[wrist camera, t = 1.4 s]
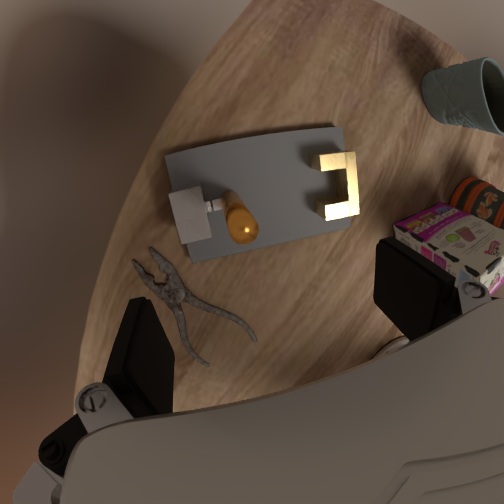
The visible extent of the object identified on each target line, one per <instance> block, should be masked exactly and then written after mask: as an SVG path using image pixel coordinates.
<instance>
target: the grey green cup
mask: <svg viewBox="0 0 504 504" xmlns="http://www.w3.org/2000/svg"><path fill="white" fill-rule="evenodd" d="M422 95H423V99H424V103H425V105H426V107H427V109H428V111H429V113H430V114H431V115H432V117H434V119H436V120H437V121H439V122H441V123H443V124H450V125H457V126H458V125H462V126H463V127H468V128H474V129H477V128H478V129H479V130H483V131H487V132H492V133H495V134H499V135H502V136H504V72H503V70H502V69H501V67H500V66H499V65H498V64H497V62H495V61H494V60H493V59H491V58H488V57H485V58H480V59H476V60H472V61H469V62H464V63H463V64H456V65H452V66H448V68H441V69H437V70H433V71H430V72H428V73H427V74H426V75H425V76H424V78H423V81H422Z"/></svg>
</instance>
